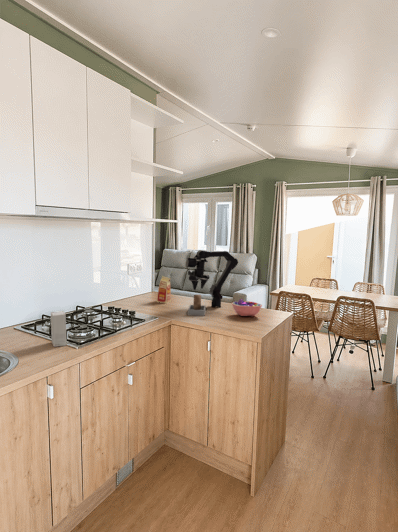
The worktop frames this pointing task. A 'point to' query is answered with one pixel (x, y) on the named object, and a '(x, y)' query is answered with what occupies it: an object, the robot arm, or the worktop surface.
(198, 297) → the walnut cylinder
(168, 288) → the milk carton
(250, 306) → the cell model
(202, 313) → the box
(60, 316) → the skincare box
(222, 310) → the worktop surface
